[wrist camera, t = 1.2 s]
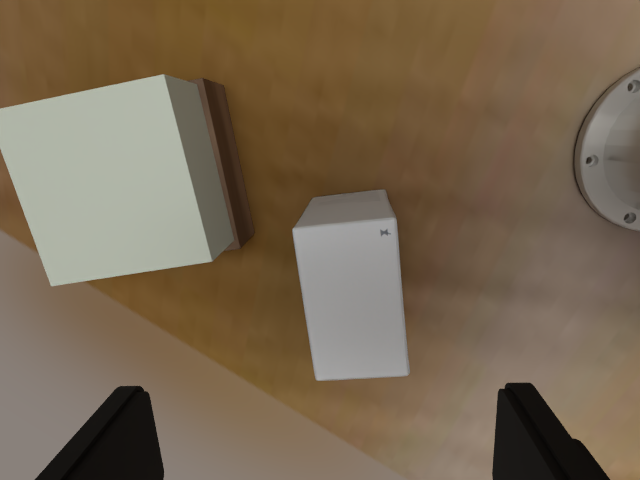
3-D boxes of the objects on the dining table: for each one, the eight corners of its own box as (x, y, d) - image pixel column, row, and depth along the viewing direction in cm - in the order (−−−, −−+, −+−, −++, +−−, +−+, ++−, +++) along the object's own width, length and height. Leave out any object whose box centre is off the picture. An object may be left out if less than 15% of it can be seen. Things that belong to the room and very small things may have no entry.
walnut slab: (224, 85, 32) (202, 78, 27) (255, 232, 35) (240, 248, 30) (84, 111, 33) (39, 109, 28) (125, 250, 36) (91, 269, 31)
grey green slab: (196, 84, 27) (163, 74, 22) (234, 240, 30) (211, 261, 25) (48, 114, 28) (-14, 111, 23) (97, 261, 31) (51, 286, 26)
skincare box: (307, 197, 33) (288, 227, 23) (385, 188, 33) (401, 214, 23) (323, 313, 36) (312, 384, 26) (396, 306, 35) (414, 377, 25)
